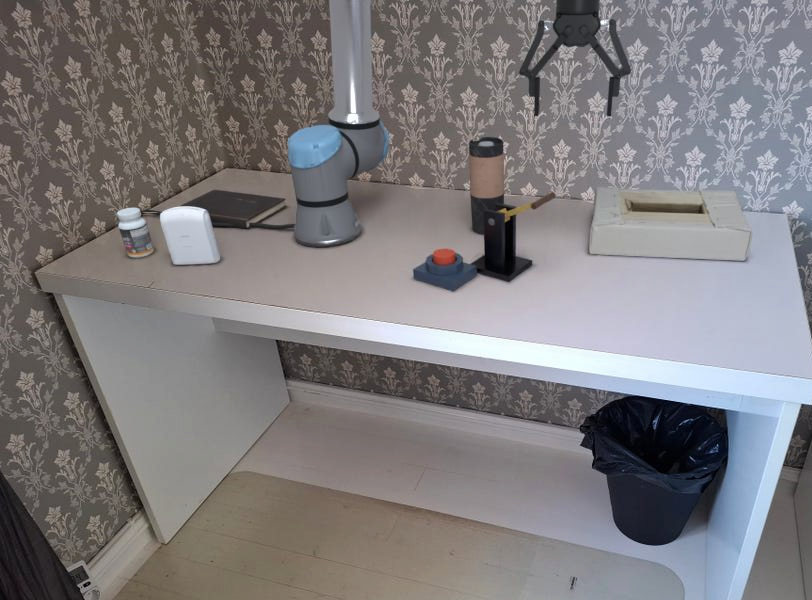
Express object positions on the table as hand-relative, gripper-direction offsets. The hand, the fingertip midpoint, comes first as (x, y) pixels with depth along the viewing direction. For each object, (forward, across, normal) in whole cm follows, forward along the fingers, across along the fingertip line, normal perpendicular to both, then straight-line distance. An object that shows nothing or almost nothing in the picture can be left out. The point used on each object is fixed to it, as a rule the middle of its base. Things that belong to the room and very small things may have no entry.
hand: (572, 114), depth 129 cm
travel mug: (+29, -19, +12) cm, 36 cm away
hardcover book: (+28, -85, +16) cm, 91 cm away
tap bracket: (+28, -13, -9) cm, 33 cm away
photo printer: (+29, -79, -12) cm, 85 cm away
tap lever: (+16, -8, -11) cm, 21 cm away
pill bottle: (+29, -94, -9) cm, 99 cm away
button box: (+28, -23, -14) cm, 39 cm away
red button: (+25, -23, -14) cm, 37 cm away
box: (+29, +21, +10) cm, 37 cm away
